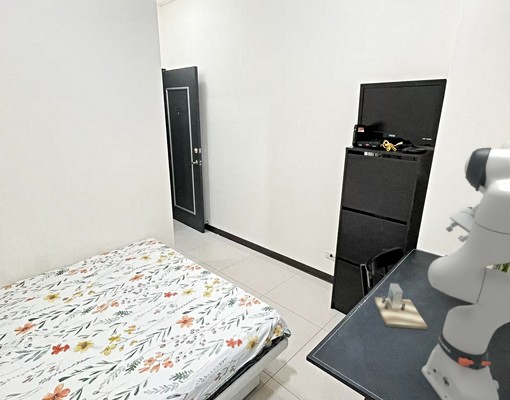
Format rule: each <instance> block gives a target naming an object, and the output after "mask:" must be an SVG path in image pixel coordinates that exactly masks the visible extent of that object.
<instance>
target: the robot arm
mask: <svg viewBox="0 0 510 400" xmlns="http://www.w3.org/2000/svg"><path fill="white" fill-rule="evenodd" d="M464 173H465V174H464V175H465V179H466V181H467V182H468V184H470V186H471V187H473V189H475V191H476V192H480V193H481V194H482V196H481V199H480V202H479V203H478V204H476V205H475V206H474V207H473V206H468V207H467V206H466V207H463V208H460V209H459V210H457V211H455V212H453V213H451V214H450V215H449V219H450V220H451V222H450V223H449V224H448V226H447V227H445V230H446V231H447V232H448V233H451V232H452V231H454V228H456V227H460V228H461V229H462V230H464V231H466V233H467V234H465V235H460V236H459V237H458V240H459V241H460V242H461V243H463V245H462V246H461V247H460V248H459V249H458V250H456V251H455V252H453V253H450V254H449V255H448V256H440V257H438V258H436V259H434V260H433V261H432V262H431V264H430V265H429V268H428V271H427V277H428V281H429V283H430V285H431V287H432V288H434V289H436V290H438V291H440V292H441V293H444V294H446V295H447V296H450V297H452V298H455V299H458V300H461V301H464V302H468V303H471V304H469V305H458V306H455V307H452V308H451V309H449V310H448V312H447V314H446V317H445V321H444V325H443V328H441V330H440V332H439V335H438V338H437V339H438V340H437V345H436V346H435V347H434V348H433V349H432V351H431V352H430V355H429V358H428V360H427V361H426V362H427V363H426V364H425V365H423V367H422V368H421V373H422V375H423V376H424V378H425V379H426V380H427V381H428V383H429V384H430V385H431V387H432V389H433V390H434V391H435V392H436V394H437V395H438V396H439V398H440V399H441V400H500V398H499V393H498V391H497V390H499V389H500V385H499V381H497V380H496V379H493V376H492V375H491V372H490V370H491V369H490V367H489V366H491V364H492V362H490V361H489V358H488V357H489V349H488V346H489V343H490V341H491V339H492V336H493V335H494V334H495V332H496V331H497V329H498V328H500V327H502V326H503V325H505V324H507V323H510V273H509V272H505V271H501V270H498V269H494V268H491V267H490V266H493V265H504V264H509V263H510V138H509V139H508V140H506V141H505V142H504V143H502V145H501V146H500V148H492V147H481V148H477V149H475V150H474V151H472V152H471V154H470V155H469V156H468V157H467V159H466V161H465V163H464Z"/></svg>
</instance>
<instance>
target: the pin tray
mask: <svg viewBox="0 0 510 400" xmlns="http://www.w3.org/2000/svg"><path fill="white" fill-rule="evenodd" d="M387 299H388V297H387V296H385V295H383V296H382V297H378V296H376V297H374V300H373V301H374V302H375V305H376V307H377V309H378V312H379V313H380V315H381V318H382V320H383V322H384V324H385V326H386V327H390V328H392V327H393V328H404V329H415V330H416V329H417V330H427V329H428V325H427V323H426V322H425V321H424V319H423V317H422V316H421V315H420V312H419V311H418V309H417V307H416V306H415V305H414V303H413V301H411V299H405V298H402V299H401V303H400V308H399V310H391V308H390V306H389V302H388V301H387Z"/></svg>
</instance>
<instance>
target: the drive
mask: <svg viewBox="0 0 510 400" xmlns="http://www.w3.org/2000/svg"><path fill="white" fill-rule="evenodd" d="M403 294H404V291H403V290H402V288H401V287H400V284H398V283H390V284H389V289H388V294H387V298H388V299H387V301H388V302H389V306H390V308H391V310H399V308H400V303H401V299H403Z"/></svg>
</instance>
